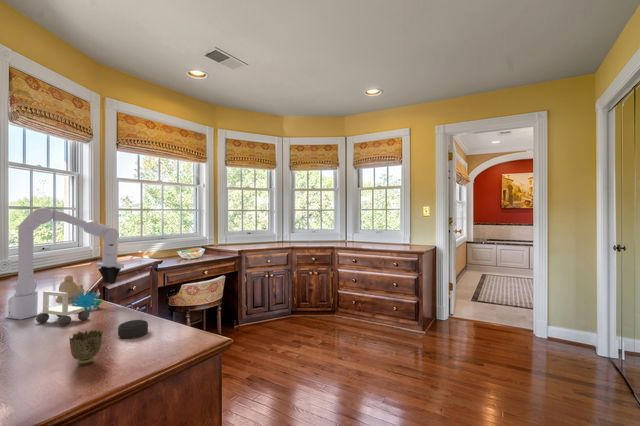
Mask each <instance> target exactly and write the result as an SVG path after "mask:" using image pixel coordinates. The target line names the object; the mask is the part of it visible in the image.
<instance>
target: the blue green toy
mask: <svg viewBox="0 0 640 426" xmlns="http://www.w3.org/2000/svg"><path fill="white" fill-rule="evenodd" d="M90 293H91V291H90V290H86V292H85V294H84V293H83V292H80V296H81V297H80V298H78V295H75V296H74V298H75V299H77V300H78V301H75V300H74V299H73V300H72V301H71V302H70V303H71V306H75V307H84V310H87V311H89V312H92V310H93V308H94V309H96V308H100V307H99V306H100V305H101V303H103V302H104V301H103V300H104V299H102V298H101V299H99V298H100V296H99V295H96V292H95V291H93V292H92V293H91V294H90ZM83 294H84V296H82V295H83ZM92 306H93V308H92ZM87 308H88V309H87Z"/></svg>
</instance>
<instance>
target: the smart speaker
mask: <svg viewBox="0 0 640 426" xmlns="http://www.w3.org/2000/svg"><path fill="white" fill-rule="evenodd" d="M148 330H149V322H148V321H147V320H144V319H134V320H128V321H125V322H122V323H120V324H119V325H118V326H117V336H118V337H119V338H121V339H124V340H125V339H127V340H128V339H135V338H139V337H142V336H144V335H145V334H147V333H148V332H149V331H148Z"/></svg>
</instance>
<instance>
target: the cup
mask: <svg viewBox="0 0 640 426" xmlns="http://www.w3.org/2000/svg"><path fill="white" fill-rule="evenodd" d="M103 333H104V332H103V330H100V329H98V330H96V329H94V330H93V329H91V330H90V331H89V332H88V331H87V330H85V331H84V332H82V331H78V332H77V333H74V334H72V337H71V336H69V337H68V340H69V347H70V353H71V356H72V357H73V359H75V360H77V364H78V365H79V366H87V365H90V364H92V363H93V362H94V360H95V356H96V355H98V353H99V352H100V349H101V346H102V338H103Z"/></svg>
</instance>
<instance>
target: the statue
mask: <svg viewBox="0 0 640 426" xmlns="http://www.w3.org/2000/svg"><path fill="white" fill-rule="evenodd" d="M58 292H65V293H68V303H71V301H72V300H73V299H74V300H75V301H78V300H77V299H75V298H74V296H75V295H78V298H80V297H81V296H80V292H83V295H82V296H84V295H85V294H84V293H85V289H84V285H83V284H77V282H75V281H74V277H73V275H72V274H67V275H65V276H64V280H63V281H61V282H60V284H59V286H58ZM59 302H62V296H56V298H55V303H59Z"/></svg>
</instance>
